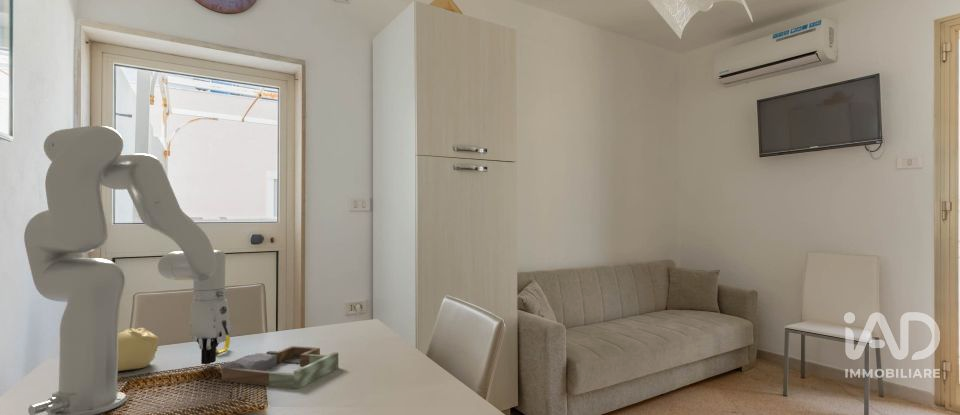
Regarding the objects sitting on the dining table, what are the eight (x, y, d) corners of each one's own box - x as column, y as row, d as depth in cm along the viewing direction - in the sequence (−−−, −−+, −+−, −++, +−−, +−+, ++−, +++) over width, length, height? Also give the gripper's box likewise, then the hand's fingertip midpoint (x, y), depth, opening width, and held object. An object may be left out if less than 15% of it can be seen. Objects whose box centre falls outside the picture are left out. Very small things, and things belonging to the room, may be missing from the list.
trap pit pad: (302, 364, 126) (302, 363, 126) (282, 362, 127) (282, 361, 127) (312, 359, 130) (312, 358, 130) (293, 357, 132) (293, 356, 132)
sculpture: (165, 366, 126) (165, 326, 126) (111, 378, 116) (112, 335, 116) (147, 359, 132) (148, 322, 133) (95, 370, 122) (96, 330, 123)
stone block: (217, 385, 116) (251, 379, 114) (214, 365, 116) (248, 359, 114) (249, 372, 127) (280, 366, 125) (246, 354, 128) (278, 348, 126)
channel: (298, 388, 107) (298, 371, 107) (221, 380, 113) (222, 364, 113) (350, 361, 128) (350, 346, 128) (284, 355, 134) (284, 342, 134)
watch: (223, 350, 142) (224, 330, 143) (231, 350, 142) (232, 331, 142) (208, 354, 136) (210, 334, 137) (217, 354, 136) (218, 334, 136)
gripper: (242, 294, 126) (241, 360, 126) (199, 292, 131) (198, 357, 130) (220, 298, 119) (219, 369, 119) (175, 296, 123) (174, 365, 123)
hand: (208, 362), depth 124 cm, fingers closed
